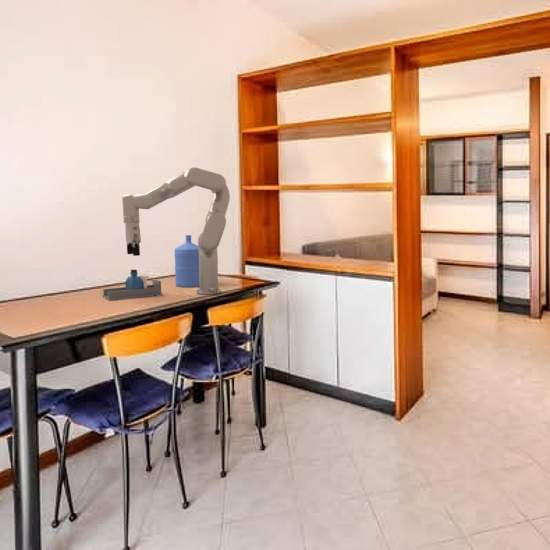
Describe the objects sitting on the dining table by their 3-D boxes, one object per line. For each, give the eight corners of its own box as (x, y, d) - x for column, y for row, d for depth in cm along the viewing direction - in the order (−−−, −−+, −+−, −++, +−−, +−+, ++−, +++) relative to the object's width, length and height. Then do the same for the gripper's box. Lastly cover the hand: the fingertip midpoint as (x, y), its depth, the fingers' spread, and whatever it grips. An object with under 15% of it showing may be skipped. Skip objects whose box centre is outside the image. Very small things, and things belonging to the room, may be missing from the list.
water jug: (201, 287, 283) (200, 236, 280) (172, 287, 284) (171, 236, 280) (205, 283, 299) (204, 234, 295) (178, 283, 299) (177, 234, 295)
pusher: (149, 293, 259) (148, 276, 258) (144, 293, 258) (144, 276, 257) (144, 291, 265) (144, 274, 264) (140, 291, 264) (139, 275, 263)
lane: (161, 295, 260) (161, 281, 259) (109, 300, 247) (108, 286, 246) (154, 291, 270) (153, 278, 269) (102, 296, 257) (102, 282, 256)
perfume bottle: (133, 295, 255) (132, 271, 253) (125, 294, 259) (124, 270, 257) (143, 293, 259) (142, 269, 258) (136, 292, 263) (135, 268, 262)
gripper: (144, 220, 249) (146, 255, 251) (133, 219, 263) (135, 252, 266) (129, 220, 245) (131, 256, 247) (119, 219, 259) (121, 253, 262)
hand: (133, 254), depth 256 cm, fingers open, 9 cm apart
